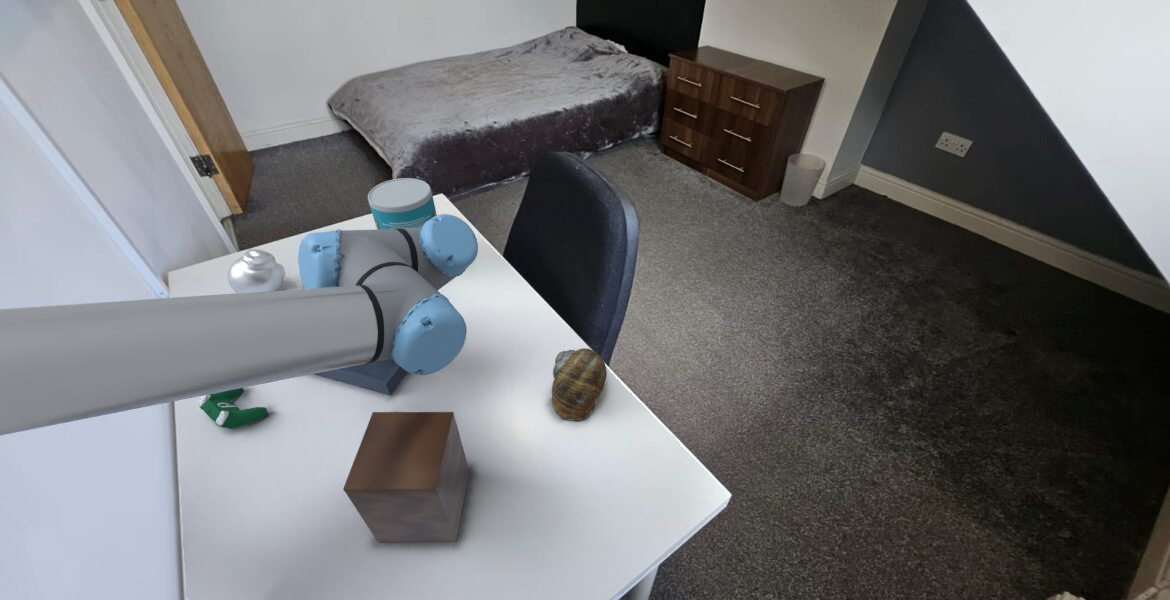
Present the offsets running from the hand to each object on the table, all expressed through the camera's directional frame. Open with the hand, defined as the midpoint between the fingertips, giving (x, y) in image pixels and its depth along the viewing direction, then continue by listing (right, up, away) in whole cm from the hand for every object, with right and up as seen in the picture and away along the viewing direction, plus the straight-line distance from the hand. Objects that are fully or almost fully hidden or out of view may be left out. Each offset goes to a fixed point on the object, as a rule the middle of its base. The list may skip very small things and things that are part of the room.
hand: (356, 326), depth 84 cm
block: (+19, -23, -20) cm, 36 cm away
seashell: (+40, -11, -6) cm, 42 cm away
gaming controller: (-14, -13, -10) cm, 22 cm away
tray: (+3, -4, +1) cm, 5 cm away
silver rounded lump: (-24, +6, +12) cm, 27 cm away
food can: (+4, +13, +20) cm, 24 cm away
